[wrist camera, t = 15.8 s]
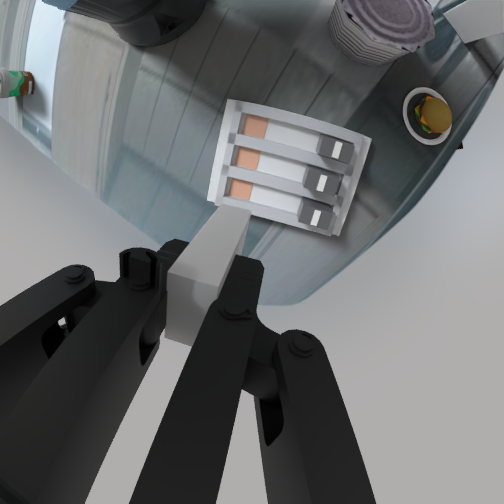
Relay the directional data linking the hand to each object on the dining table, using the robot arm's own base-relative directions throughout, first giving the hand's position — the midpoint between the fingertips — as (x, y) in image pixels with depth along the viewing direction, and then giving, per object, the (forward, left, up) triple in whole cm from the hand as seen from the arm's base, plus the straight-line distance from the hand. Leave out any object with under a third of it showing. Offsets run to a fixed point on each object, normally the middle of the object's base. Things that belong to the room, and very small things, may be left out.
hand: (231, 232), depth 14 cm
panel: (+2, 0, -26) cm, 27 cm away
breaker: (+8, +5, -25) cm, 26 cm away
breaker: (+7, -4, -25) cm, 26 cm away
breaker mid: (+7, 0, -25) cm, 26 cm away
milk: (+24, +36, -27) cm, 51 cm away
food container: (-56, +12, -27) cm, 63 cm away
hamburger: (+21, +15, -27) cm, 37 cm away
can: (+8, +24, -27) cm, 37 cm away
